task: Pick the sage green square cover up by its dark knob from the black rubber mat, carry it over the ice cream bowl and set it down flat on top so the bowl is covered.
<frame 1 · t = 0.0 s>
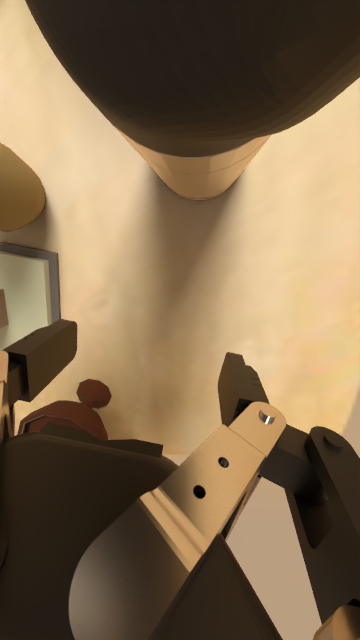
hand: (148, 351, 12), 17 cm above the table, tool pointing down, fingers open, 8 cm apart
mat: (3, 301, 31), on the table
ice cream bowl: (94, 392, 36), on the table
cover: (1, 302, 31), resting on mat
squeeze bottle: (22, 192, 26), on the table
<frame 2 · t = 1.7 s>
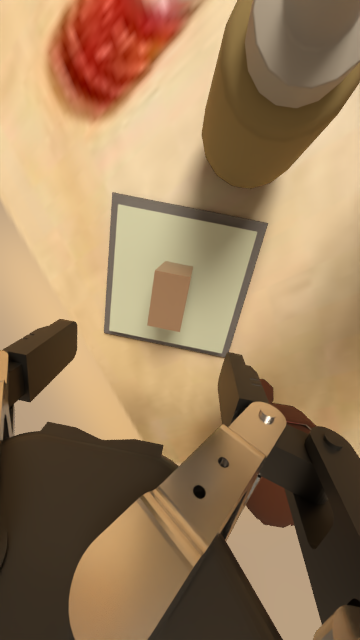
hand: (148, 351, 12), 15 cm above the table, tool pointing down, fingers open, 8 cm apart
mat: (176, 283, 26), on the table
ice cream bowl: (252, 393, 31), on the table
cover: (176, 284, 26), resting on mat
squeeze bottle: (245, 146, 21), on the table
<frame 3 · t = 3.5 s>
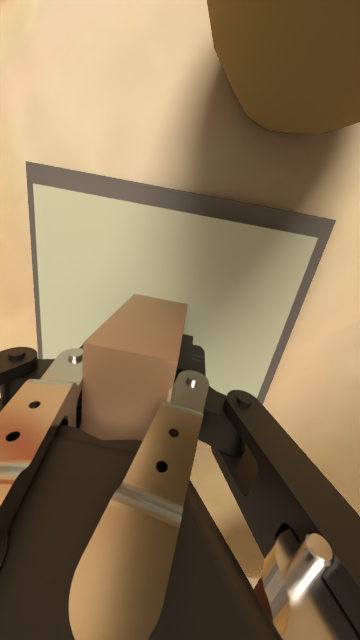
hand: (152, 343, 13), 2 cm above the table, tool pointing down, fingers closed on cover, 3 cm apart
mat: (158, 329, 15), on the table
cover: (157, 331, 14), resting on mat, touching gripper
squeeze bottle: (295, 54, 10), on the table
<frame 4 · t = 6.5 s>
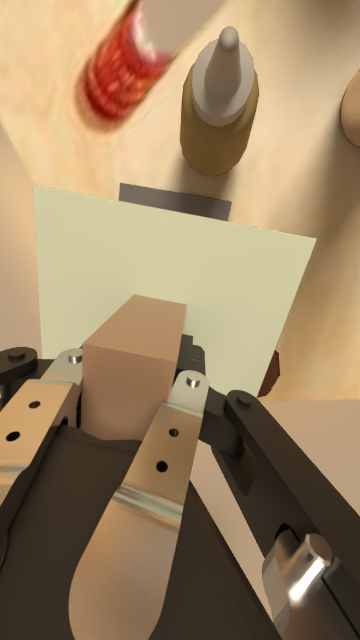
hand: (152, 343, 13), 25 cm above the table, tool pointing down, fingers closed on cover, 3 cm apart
mat: (168, 250, 35), on the table
ice cream bowl: (230, 338, 40), on the table
cover: (157, 332, 14), point 23 cm above the table, touching gripper
squeeze bottle: (212, 147, 30), on the table
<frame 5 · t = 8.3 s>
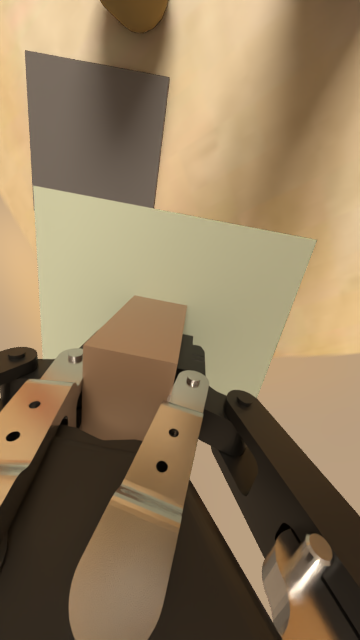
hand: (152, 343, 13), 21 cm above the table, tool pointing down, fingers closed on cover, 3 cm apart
mat: (95, 152, 28), on the table
cover: (157, 333, 14), point 20 cm above the table, touching gripper
when the fingers open (18 cm above the table, at t = 9.7 s): cover drops 1 cm, resting on ice cream bowl.
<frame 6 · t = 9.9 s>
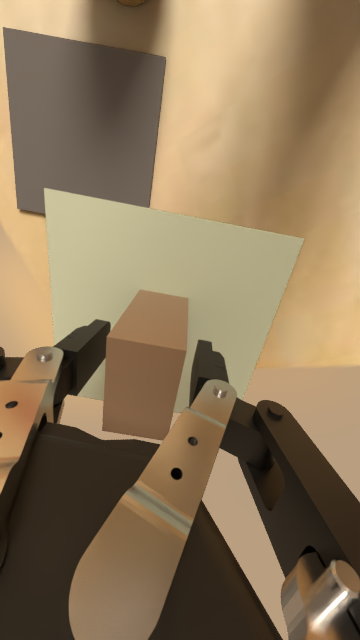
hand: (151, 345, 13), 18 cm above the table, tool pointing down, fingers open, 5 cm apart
mat: (84, 143, 25), on the table
cover: (160, 323, 16), point 15 cm above the table, touching ice cream bowl
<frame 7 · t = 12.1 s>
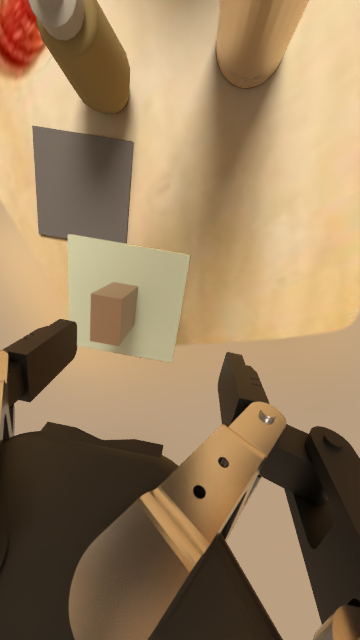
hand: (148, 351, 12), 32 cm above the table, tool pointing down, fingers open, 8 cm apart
mat: (83, 191, 38), on the table
cover: (126, 301, 29), point 15 cm above the table, touching ice cream bowl
squeeze bottle: (110, 90, 34), on the table
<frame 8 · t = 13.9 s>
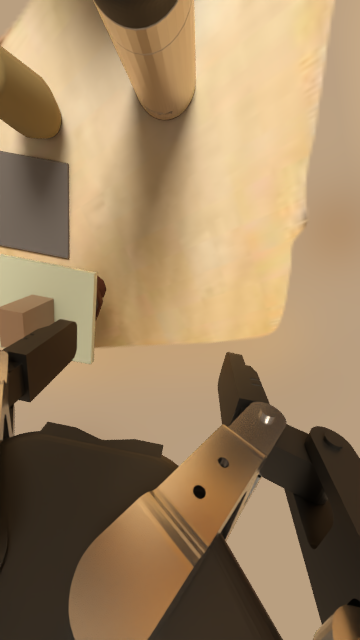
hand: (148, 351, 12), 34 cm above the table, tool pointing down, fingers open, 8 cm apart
mat: (26, 206, 42), on the table
cover: (47, 311, 33), point 15 cm above the table, touching ice cream bowl
squeeze bottle: (45, 117, 37), on the table
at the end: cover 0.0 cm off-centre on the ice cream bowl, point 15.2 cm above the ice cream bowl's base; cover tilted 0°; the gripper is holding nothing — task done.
